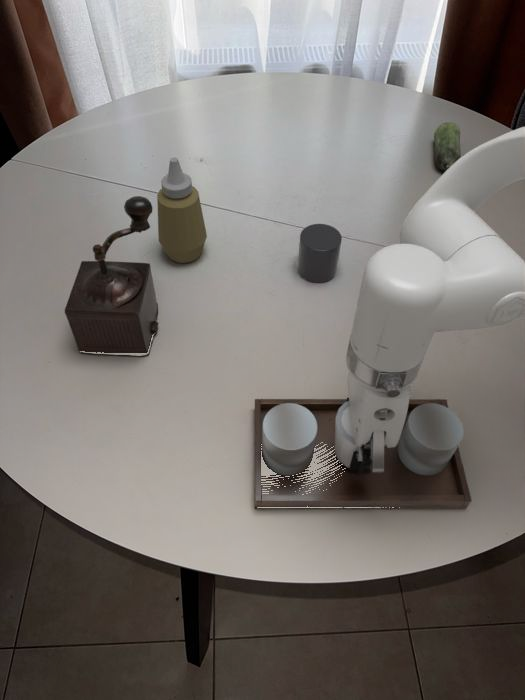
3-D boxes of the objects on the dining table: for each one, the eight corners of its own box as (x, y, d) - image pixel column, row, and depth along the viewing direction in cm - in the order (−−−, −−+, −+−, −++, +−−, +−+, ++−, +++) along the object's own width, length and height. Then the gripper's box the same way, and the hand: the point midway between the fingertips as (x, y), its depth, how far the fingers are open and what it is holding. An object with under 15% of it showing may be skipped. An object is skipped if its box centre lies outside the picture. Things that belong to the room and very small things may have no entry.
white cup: (358, 418, 77) (366, 388, 72) (394, 455, 74) (405, 426, 68) (318, 444, 75) (324, 415, 69) (354, 484, 71) (362, 457, 66)
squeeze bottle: (210, 237, 102) (204, 145, 88) (205, 269, 97) (198, 177, 83) (164, 235, 102) (150, 143, 88) (157, 267, 97) (142, 174, 83)
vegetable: (431, 138, 123) (437, 116, 119) (456, 141, 123) (463, 119, 119) (431, 176, 114) (438, 154, 111) (458, 179, 114) (465, 157, 110)
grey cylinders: (444, 256, 100) (456, 224, 94) (453, 283, 96) (465, 251, 90) (296, 255, 99) (299, 223, 94) (298, 283, 95) (301, 250, 90)
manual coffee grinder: (153, 358, 85) (134, 267, 71) (78, 354, 85) (44, 263, 71) (168, 283, 95) (154, 190, 81) (100, 280, 95) (75, 187, 81)
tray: (442, 408, 80) (457, 377, 74) (466, 508, 71) (485, 481, 65) (254, 408, 80) (255, 376, 74) (254, 509, 71) (255, 481, 65)
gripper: (438, 428, 54) (399, 507, 67) (407, 293, 64) (379, 385, 78) (357, 428, 53) (335, 507, 67) (339, 292, 64) (323, 385, 78)
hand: (359, 441), depth 73 cm, fingers closed on white cup, 6 cm apart
